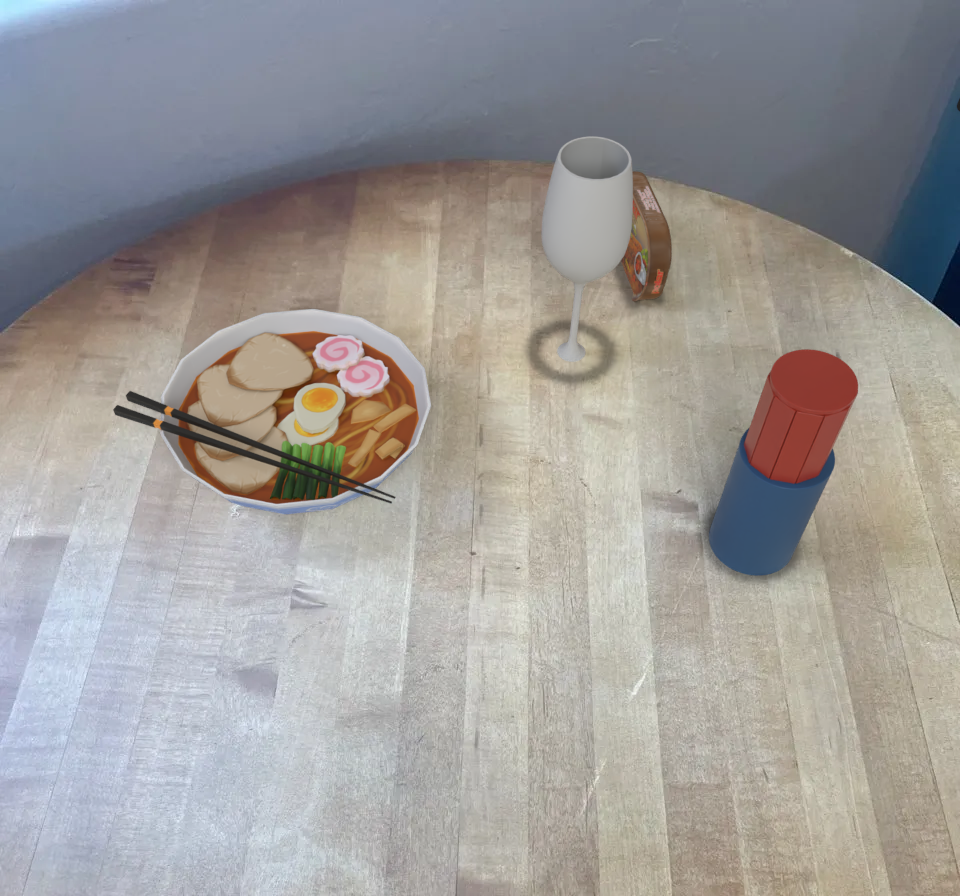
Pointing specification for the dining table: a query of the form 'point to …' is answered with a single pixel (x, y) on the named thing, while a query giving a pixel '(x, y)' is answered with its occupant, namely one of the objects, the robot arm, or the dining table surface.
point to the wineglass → (587, 218)
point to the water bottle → (762, 516)
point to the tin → (647, 243)
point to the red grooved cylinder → (800, 415)
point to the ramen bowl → (292, 410)
